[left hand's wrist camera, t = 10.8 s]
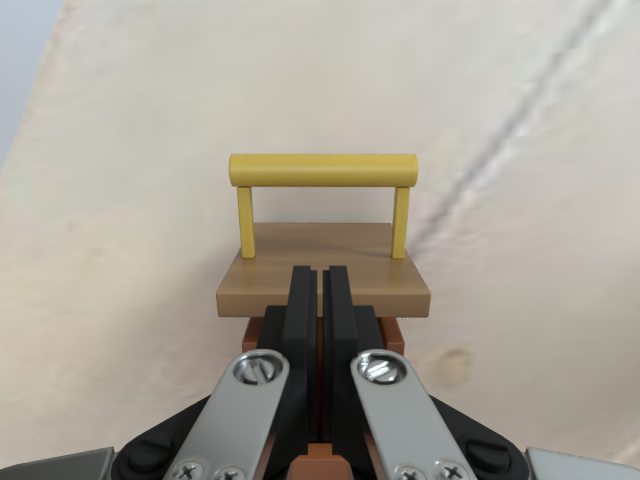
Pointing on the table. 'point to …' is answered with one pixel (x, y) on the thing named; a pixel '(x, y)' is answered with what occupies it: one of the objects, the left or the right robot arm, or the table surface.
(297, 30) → the table surface
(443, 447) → the left robot arm
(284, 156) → the drawer
